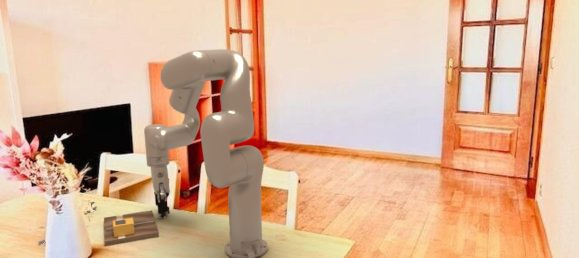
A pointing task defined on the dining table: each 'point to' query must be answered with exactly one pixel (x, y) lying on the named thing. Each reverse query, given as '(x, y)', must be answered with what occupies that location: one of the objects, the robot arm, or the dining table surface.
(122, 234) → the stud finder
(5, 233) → the dining table surface
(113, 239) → the board
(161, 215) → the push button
